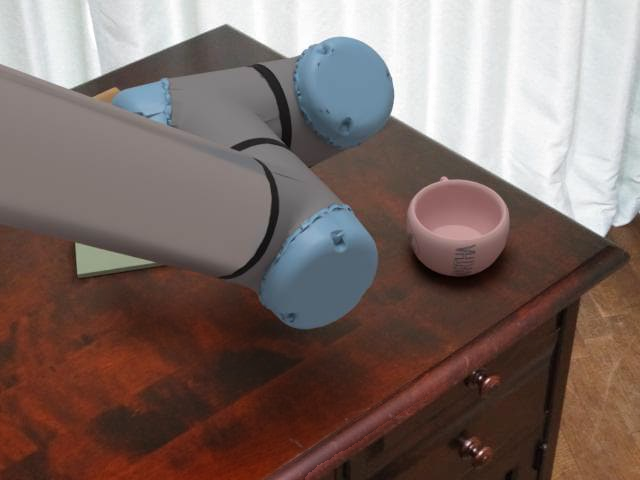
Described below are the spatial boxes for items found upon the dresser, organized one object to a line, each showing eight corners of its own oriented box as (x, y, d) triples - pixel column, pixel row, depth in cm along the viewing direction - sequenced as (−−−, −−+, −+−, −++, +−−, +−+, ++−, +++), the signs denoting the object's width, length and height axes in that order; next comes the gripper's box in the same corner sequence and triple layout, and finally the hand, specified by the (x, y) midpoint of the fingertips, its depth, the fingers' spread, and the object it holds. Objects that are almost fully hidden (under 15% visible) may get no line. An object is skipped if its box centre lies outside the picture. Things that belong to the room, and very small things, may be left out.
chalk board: (199, 260, 114) (198, 255, 114) (78, 278, 113) (76, 273, 112) (175, 130, 130) (175, 125, 130) (69, 145, 129) (68, 140, 128)
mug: (517, 283, 111) (523, 237, 107) (416, 294, 110) (418, 249, 106) (486, 203, 120) (490, 158, 116) (392, 214, 119) (394, 169, 115)
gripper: (160, 249, 87) (84, 287, 105) (399, 118, 99) (293, 173, 117) (112, 161, 86) (44, 215, 105) (358, 40, 98) (258, 108, 117)
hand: (175, 193), depth 111 cm, fingers open, 13 cm apart
